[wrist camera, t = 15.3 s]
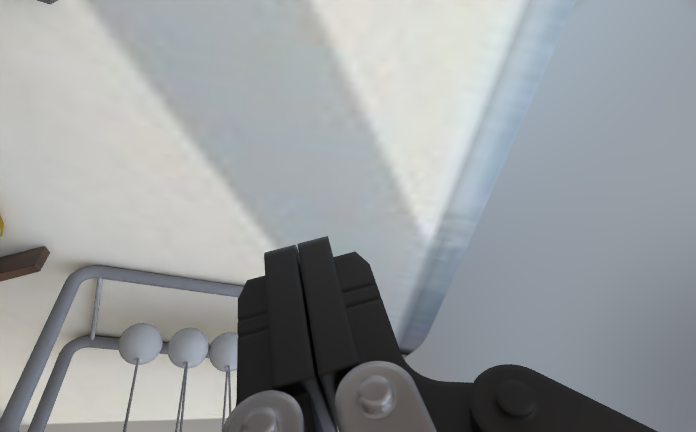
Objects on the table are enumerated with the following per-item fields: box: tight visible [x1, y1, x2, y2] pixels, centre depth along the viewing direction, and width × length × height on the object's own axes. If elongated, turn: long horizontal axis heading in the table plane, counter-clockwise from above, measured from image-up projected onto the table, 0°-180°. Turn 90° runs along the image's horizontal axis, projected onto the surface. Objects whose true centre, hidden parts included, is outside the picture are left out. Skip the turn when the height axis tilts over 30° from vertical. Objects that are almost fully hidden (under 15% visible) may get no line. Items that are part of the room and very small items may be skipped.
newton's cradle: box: [0, 266, 244, 432], centre depth 41 cm, size 30×10×18 cm, turn 69°
